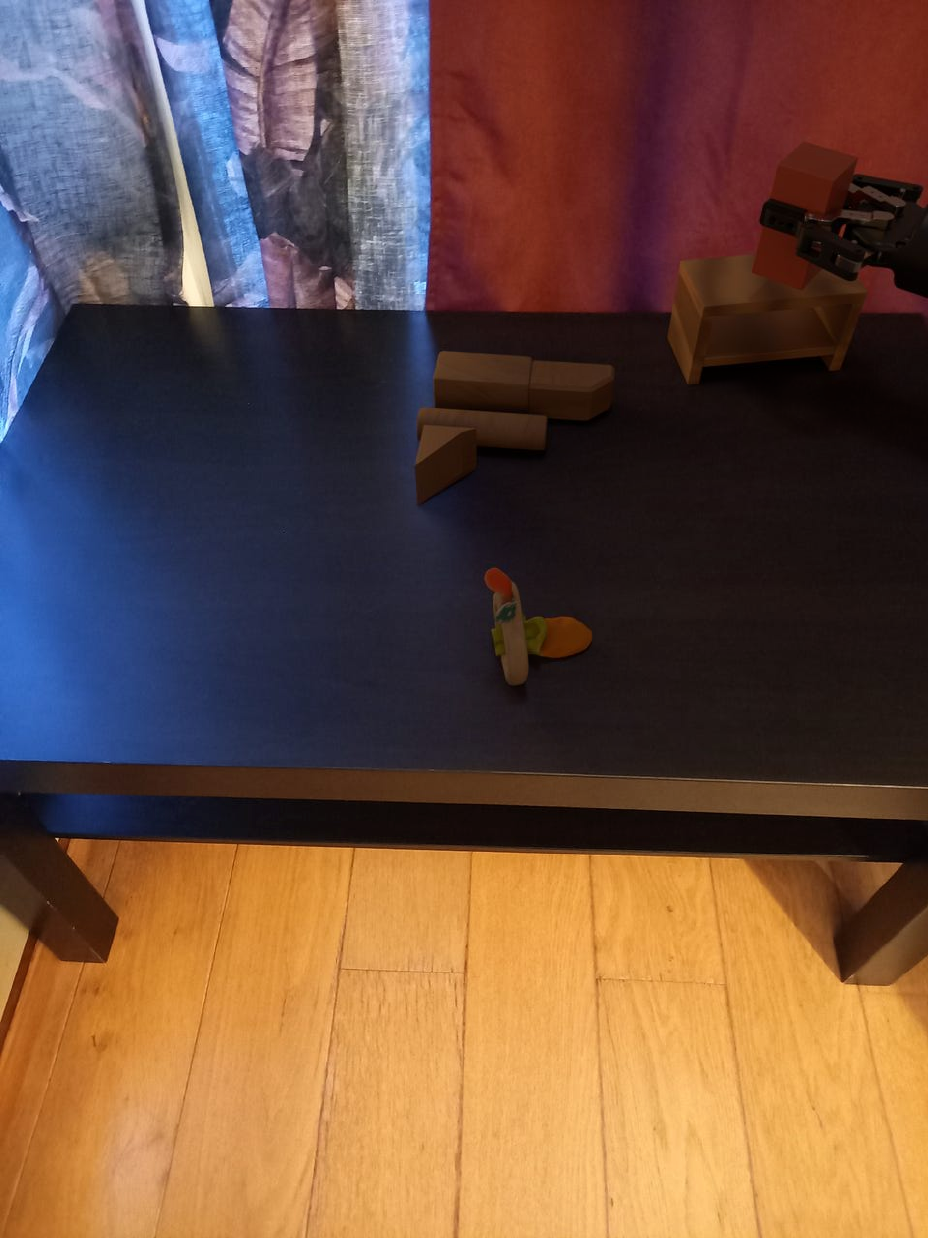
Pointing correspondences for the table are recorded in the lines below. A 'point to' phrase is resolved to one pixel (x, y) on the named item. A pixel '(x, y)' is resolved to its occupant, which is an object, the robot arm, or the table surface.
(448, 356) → the wooden block set
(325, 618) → the table surface
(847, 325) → the shelf
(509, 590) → the rattle
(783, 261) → the block
